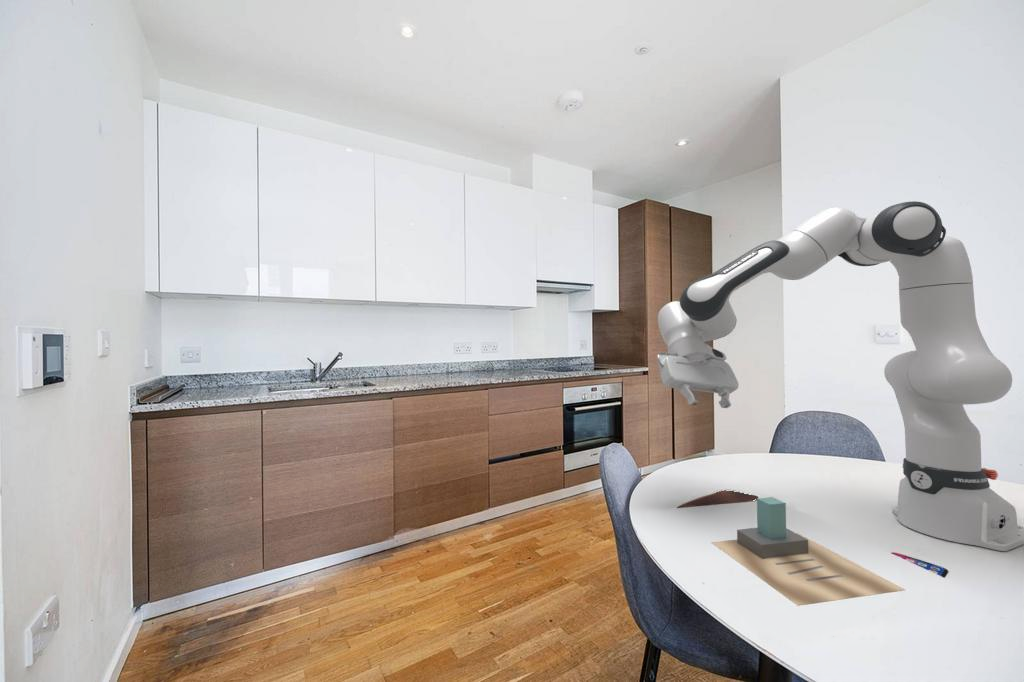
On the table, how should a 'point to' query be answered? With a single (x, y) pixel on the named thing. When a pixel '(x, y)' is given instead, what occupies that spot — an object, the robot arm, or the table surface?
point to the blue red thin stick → (925, 565)
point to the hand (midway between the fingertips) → (710, 405)
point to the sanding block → (771, 532)
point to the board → (811, 574)
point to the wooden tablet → (720, 499)
